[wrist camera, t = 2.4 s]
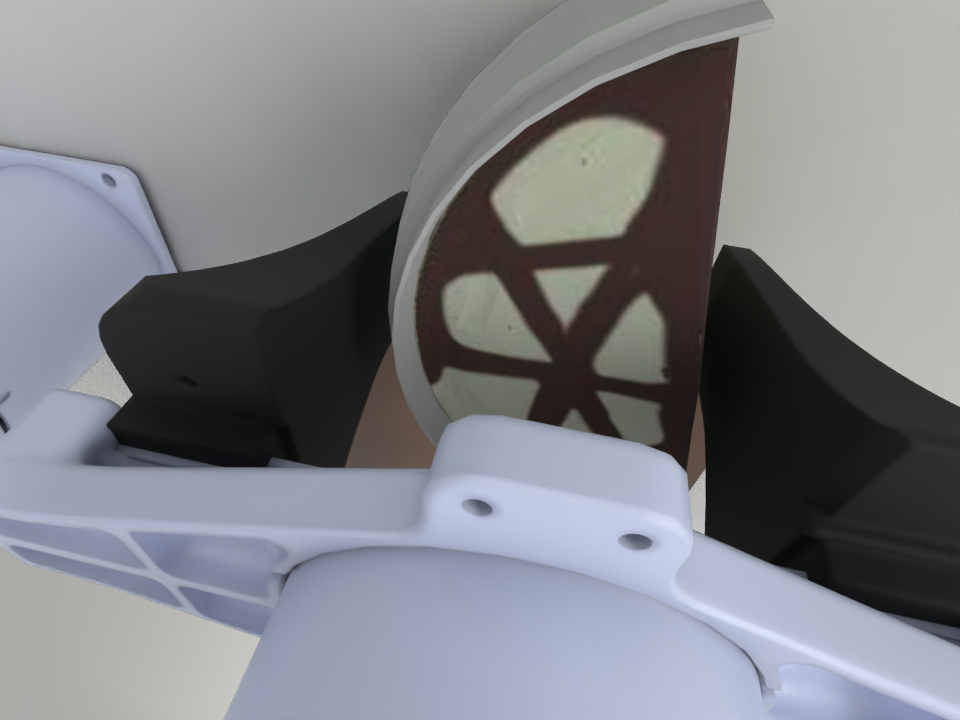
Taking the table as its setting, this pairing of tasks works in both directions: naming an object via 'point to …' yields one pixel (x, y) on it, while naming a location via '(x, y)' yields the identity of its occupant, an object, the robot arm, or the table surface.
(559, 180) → the food container
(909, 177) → the table surface
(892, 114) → the table surface
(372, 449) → the walnut board
